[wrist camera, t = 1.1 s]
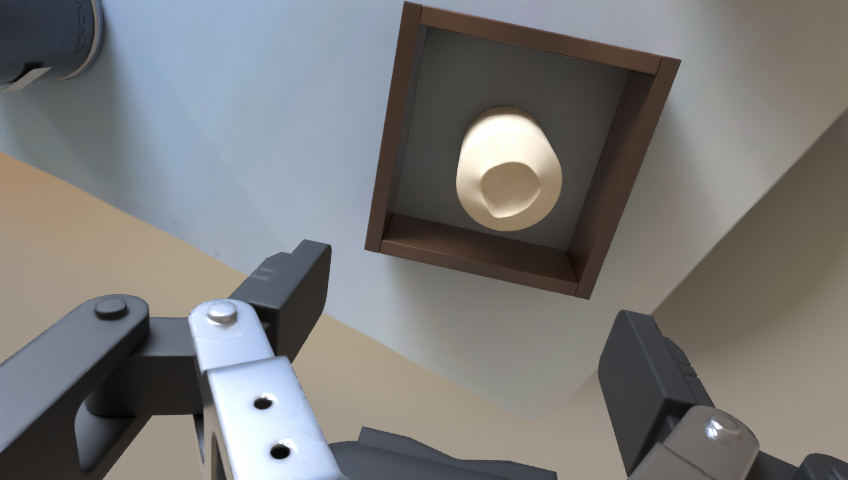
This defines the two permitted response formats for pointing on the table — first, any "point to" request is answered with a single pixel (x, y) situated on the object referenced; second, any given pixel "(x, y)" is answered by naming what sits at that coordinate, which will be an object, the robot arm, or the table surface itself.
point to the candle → (507, 170)
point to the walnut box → (604, 196)
